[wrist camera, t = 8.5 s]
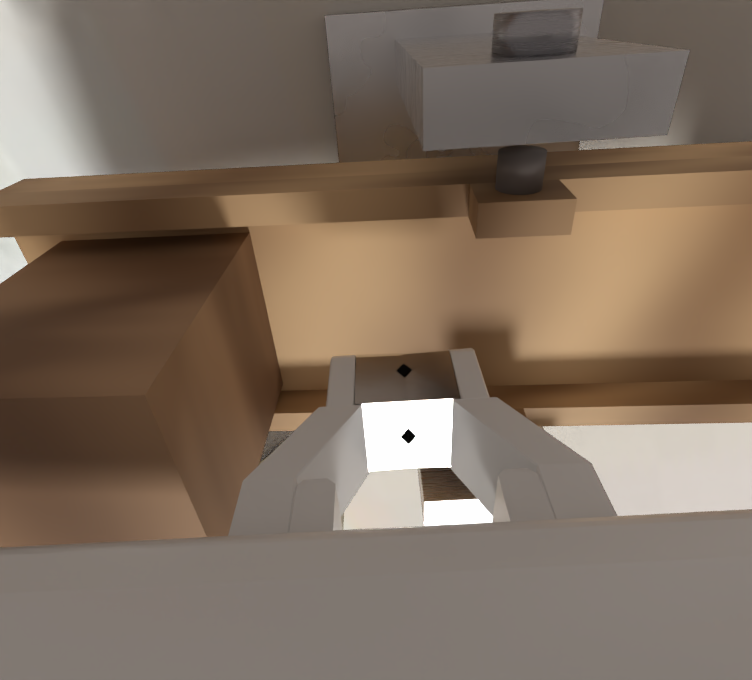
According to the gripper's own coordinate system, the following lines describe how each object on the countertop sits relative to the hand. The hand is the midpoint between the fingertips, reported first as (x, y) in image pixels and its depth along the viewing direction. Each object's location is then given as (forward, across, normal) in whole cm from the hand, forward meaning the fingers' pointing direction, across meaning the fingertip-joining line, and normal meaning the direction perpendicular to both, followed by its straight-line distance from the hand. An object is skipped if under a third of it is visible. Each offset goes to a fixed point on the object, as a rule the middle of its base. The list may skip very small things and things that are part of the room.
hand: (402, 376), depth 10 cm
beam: (+7, -3, 0) cm, 7 cm away
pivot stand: (+9, -2, 0) cm, 10 cm away
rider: (+3, +6, 0) cm, 7 cm away
